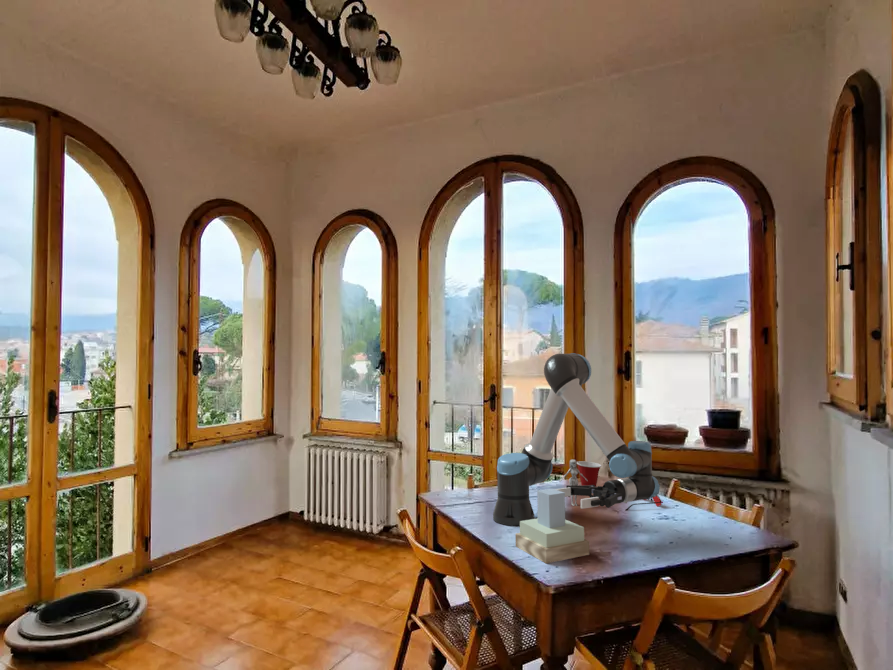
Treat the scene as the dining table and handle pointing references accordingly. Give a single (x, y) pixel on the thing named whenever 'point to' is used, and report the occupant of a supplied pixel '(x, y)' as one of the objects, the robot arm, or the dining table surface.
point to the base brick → (552, 549)
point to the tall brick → (551, 508)
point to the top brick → (551, 533)
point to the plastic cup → (588, 472)
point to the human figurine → (573, 477)
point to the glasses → (656, 501)
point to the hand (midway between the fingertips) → (567, 498)
